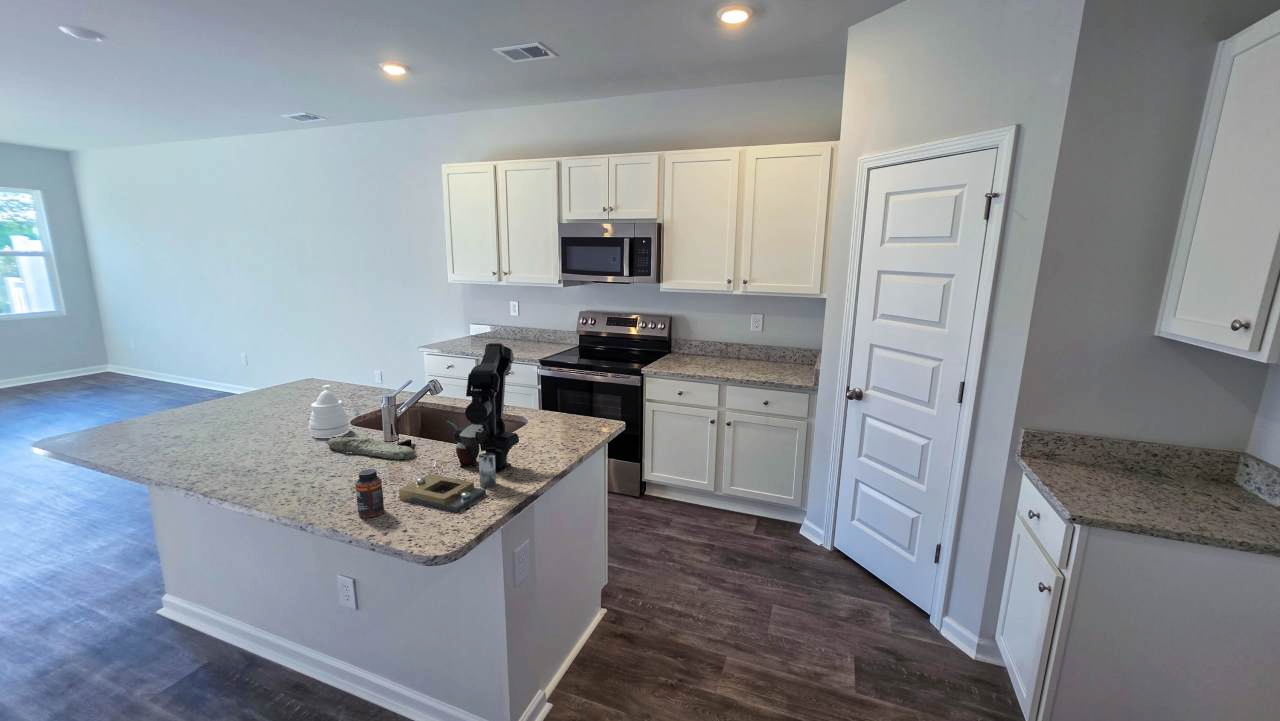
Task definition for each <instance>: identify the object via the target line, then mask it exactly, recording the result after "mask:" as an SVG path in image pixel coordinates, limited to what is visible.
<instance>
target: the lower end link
mask: <svg viewBox="0 0 1280 721" xmlns="http://www.w3.org/2000/svg"><path fill="white" fill-rule="evenodd" d="M452 489H454V488H453V487H448V486H444V485H442V486H440V487H438V488H436V489H434V490H432V491H431V492H436V493H440V492H441V491H445V492H448V491H450V490H452ZM486 492H487V490H486V489H485V488H477V487H474V488H472V489H471V490H469V491H467V492H462V493H461V495H460V496H458V497H457V498H455V499H453V500H451V501H450V502H448V503H446V504H445V505H444V504H440V503H435V502H431V501H426V500H422V499H417V498H413V497H411V502H410V503H412V504H418V505H421V506H425V507H426V506H427V507H430V508H435V509H440V510H444V511H447V512H452V513H456V514H457V513H459V512H460V511H462V510H464V509H466V508H467V507H469V506H471V505H472V504H474V503H475V502H477V501H479V500H480V499H481V498H483V497H485V496H487V493H486Z"/></svg>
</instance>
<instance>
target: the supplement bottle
mask: <svg viewBox="0 0 1280 721" xmlns="http://www.w3.org/2000/svg"><path fill="white" fill-rule="evenodd" d="M382 482H383V481H382V478H381V477H379V476H378V473H377V470H376V469H374V468H366V469H363V470H361V471H359V472H358V480H357V481H355V492H356V493H355V494H356V495H355V496H356V503H357V512H358V516H359V517H360V518H363V519H366V518H367V519H369V518H374V517H377V516H380V515H381V514H382V513H383V512H384V511H385V503H384V491H383V483H382Z"/></svg>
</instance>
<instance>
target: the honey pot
mask: <svg viewBox="0 0 1280 721" xmlns="http://www.w3.org/2000/svg"><path fill="white" fill-rule="evenodd" d="M321 388H322V390H323V391H321V392H320V394H319V395H318V396H317V399H316V401H315V402H313V403H311V404H310V407H311V408H312V412H311V414H310V420H309V421H308V426H309V436H310V435H311V436H315V437H328V436H334V435H338V434H341V433H344V432H346V431H347V430H349V428H350V422H349V415H347V413H346V411H345V408H344V407H343V401H342V400H341V399H338V397H337V396H336V394H334V393H333V392H332V391H330V389H331V385H330V384H325V385H322V387H321Z"/></svg>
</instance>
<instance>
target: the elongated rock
mask: <svg viewBox="0 0 1280 721" xmlns="http://www.w3.org/2000/svg"><path fill="white" fill-rule="evenodd" d="M327 445H328V447H329V449H332V448H333V450H334V449H336V450H335V451H337V450H341V451H344V452H343V453H345V452H352V453H351V454H354V453H356V454H355V455H367V456H369V457H379V458H382V457H386V458H390V459H389V460H396V459H397V460H400V459H405V460H410V459H412V457H413V458H414V457H415V456H416V452H415V449H413V448H411V447H410V446H407V445H400V444H395V443H389V442H384V441H380V440H377V439H374V438H371V437H370V438H369V437H361V436H356V437H353V436H352V437H348V436H346V437H343V436H340V437H336V438H330V439H328V441H327ZM341 451H340V452H341ZM386 458H385V459H386ZM409 458H410V459H409Z"/></svg>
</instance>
